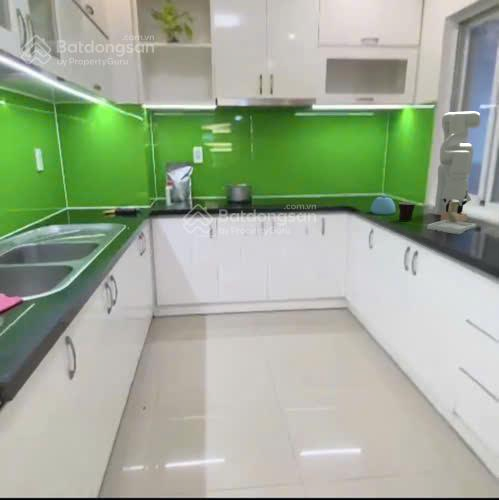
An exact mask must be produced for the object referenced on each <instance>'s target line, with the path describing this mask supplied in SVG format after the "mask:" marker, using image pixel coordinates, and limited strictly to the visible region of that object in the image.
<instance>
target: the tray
mask: <svg viewBox="0 0 499 500" xmlns="http://www.w3.org/2000/svg"><path fill="white" fill-rule="evenodd" d="M476 227H477V223H473V222H472V223H471V222H466V221H465V222H459V221H458V222H455V223H454V222H447V220H443V221H435V222H432V223H429V224H427V230H429V229H430V230H429V231H435V230H437V231H436V232H441V231H442V232H441V233H449V234H452V235H460V234H464V233H467V232H468V230H470V229H473V228H476Z"/></svg>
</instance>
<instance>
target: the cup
mask: <svg viewBox="0 0 499 500" xmlns="http://www.w3.org/2000/svg"><path fill="white" fill-rule="evenodd" d="M467 215H468V214H467V213H463V212H461V213H460V214H459V217H458V221H459V222H466V221H467ZM447 217H448V212H446V213H442V214H441V215H440V221H443V220H447Z"/></svg>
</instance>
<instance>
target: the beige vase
mask: <svg viewBox="0 0 499 500" xmlns="http://www.w3.org/2000/svg"><path fill="white" fill-rule="evenodd" d="M458 206H459V201H453V202H449V209H448V217H447V222H454V223H455V222H458V217H459V214H458V213H457V211H458Z"/></svg>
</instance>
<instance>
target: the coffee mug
mask: <svg viewBox="0 0 499 500" xmlns="http://www.w3.org/2000/svg"><path fill="white" fill-rule="evenodd" d="M415 205H416V204H415V203H414V202H407V201H406V202H404V201H402V202H398V220H399V222H405V223H406V222H407V223H408V222H409V221H411V220H412V219H413V218H412V217H413V214H414V210H415V207H416V206H415Z"/></svg>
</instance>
